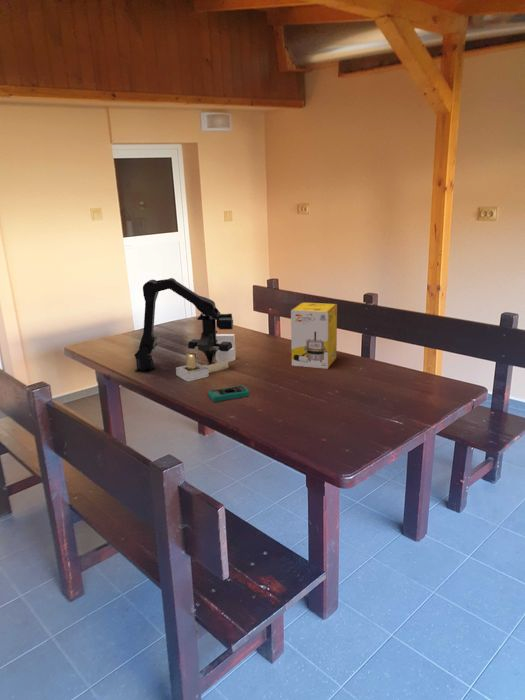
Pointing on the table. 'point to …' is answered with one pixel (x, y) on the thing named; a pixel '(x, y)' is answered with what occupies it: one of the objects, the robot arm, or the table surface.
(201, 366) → the square frame with handle
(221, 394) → the digital multimeter
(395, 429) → the table surface
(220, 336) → the base with upright slab
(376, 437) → the table surface
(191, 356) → the brown mottled cylinder
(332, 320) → the packaging box
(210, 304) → the robot arm
